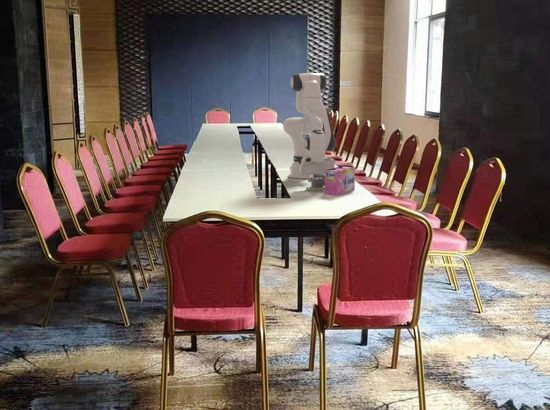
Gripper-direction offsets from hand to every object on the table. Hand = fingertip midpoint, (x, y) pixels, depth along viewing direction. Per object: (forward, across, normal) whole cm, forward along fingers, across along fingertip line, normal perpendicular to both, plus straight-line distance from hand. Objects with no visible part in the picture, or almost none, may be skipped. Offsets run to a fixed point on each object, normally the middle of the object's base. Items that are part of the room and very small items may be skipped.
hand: (317, 181), depth 350 cm
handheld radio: (+5, -4, -17) cm, 18 cm away
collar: (+3, 0, 0) cm, 3 cm away
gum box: (+4, -12, +10) cm, 16 cm away
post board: (+4, -2, +2) cm, 5 cm away
